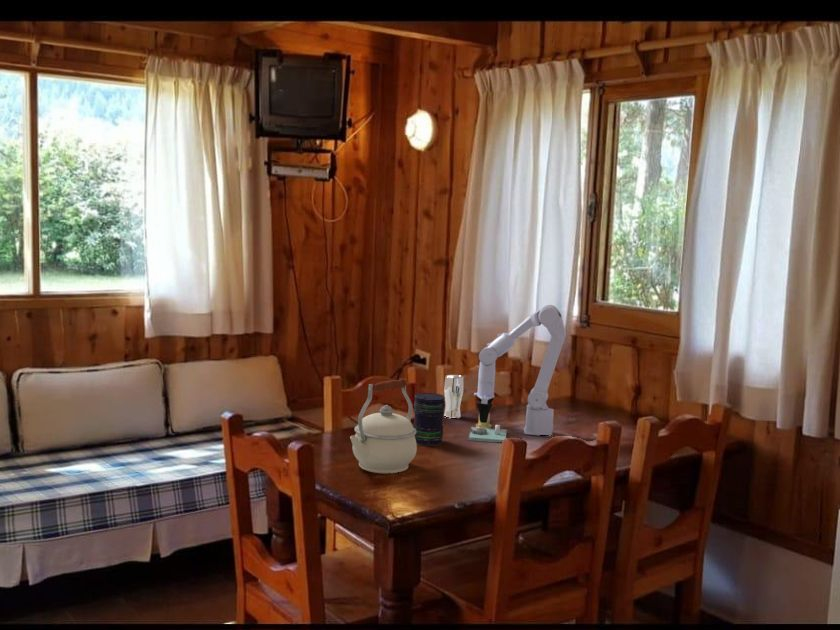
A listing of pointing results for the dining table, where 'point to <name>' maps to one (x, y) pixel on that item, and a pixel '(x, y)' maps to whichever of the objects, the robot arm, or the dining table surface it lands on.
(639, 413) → the dining table surface
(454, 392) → the beer glass
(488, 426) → the planet gear
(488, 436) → the carrier plate
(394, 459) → the kettle
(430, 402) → the storage jar
